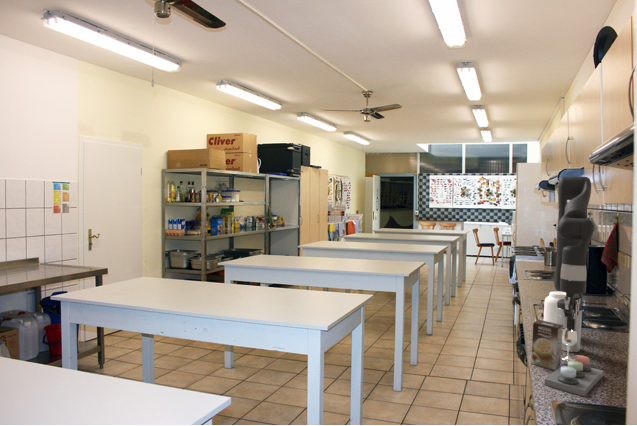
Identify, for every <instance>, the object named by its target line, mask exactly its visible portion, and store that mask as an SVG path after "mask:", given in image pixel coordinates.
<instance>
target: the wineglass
mask: <svg viewBox="0 0 637 426" xmlns="http://www.w3.org/2000/svg"><path fill="white" fill-rule="evenodd" d="M576 342H577V333H576V330H575V329H574V330H569V329H567V328H563V334H562V343H564V344H565V345H567V351H566V353H567V354H566V355H567V356H561V360H563V361H566V362H568V361H574V359H575V358H572V357H570V356H569V353H570V352H569V349H570V347H569V346H572V345H575V344H576Z"/></svg>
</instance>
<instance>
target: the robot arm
mask: <svg viewBox="0 0 637 426" xmlns="http://www.w3.org/2000/svg"><path fill="white" fill-rule="evenodd" d="M591 194H592V181H591V179H590V177H587V176H583V175H582V176H579V175H578V176H577V175H576V176H571V175H568V176H561V177H560V178H559V180H558V185H557V202H558V203H557V205H558V218H557V228H556V262H555V270H554V277H553V279H554V280H553V283H554V284H553V285H554V290H555V291H561V292H566V297H565V298H564V299H560V300H558V302H557V320H556V324H560V325H563V328H567V329H569V330H574V329H575V330H576V333H577V342H576V344H575V345H572V346H569V347H570V349H569V353H577V352H580V351H581V339H582V336H581V335H582V315H583V313H582V312H583V296H584V294H586V292H587V255H588V248H589V245H590V243H591V239H592V237H593V235H594V231H595V225H594V223H593V221H592V220H591V219H589V218H588V206H589V203H590V199H591V196H592V195H591ZM562 351H565V352H567V345H565V344H564V343H562Z"/></svg>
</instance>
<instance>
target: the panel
mask: <svg viewBox="0 0 637 426" xmlns="http://www.w3.org/2000/svg"><path fill="white" fill-rule="evenodd" d="M562 366H567V367H568V361H566V362H564V363H563V364H561V366H560V367H559V368H558V369H556V370H553V372H552V373H550V374H549V375H548V376H546V377H545V378H544V385H545V386H548V387H551V388H554V389H557V390H560V391H564V392H567V393H568V392H569V393H572V394H575V395H578V396H582V397H586V396H587V395H588V393H589V392H590V391H592V389H593V388H594V387H595V385H597V383H599V382H600V380H601V379H602V378H603V377H604V370H602V369H598V368H595V367H591V366H589V365H583V371H576V377H574V378H571V377H566V376H563V375H561V374H560V372H561V367H562Z"/></svg>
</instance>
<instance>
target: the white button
mask: <svg viewBox="0 0 637 426" xmlns="http://www.w3.org/2000/svg"><path fill="white" fill-rule="evenodd" d="M561 366H562V365H561ZM560 374H561V375H563V376H566V377H571V378H574V377H576V369H574V368H572V367H567V366H562V367H561V372H560Z"/></svg>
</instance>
